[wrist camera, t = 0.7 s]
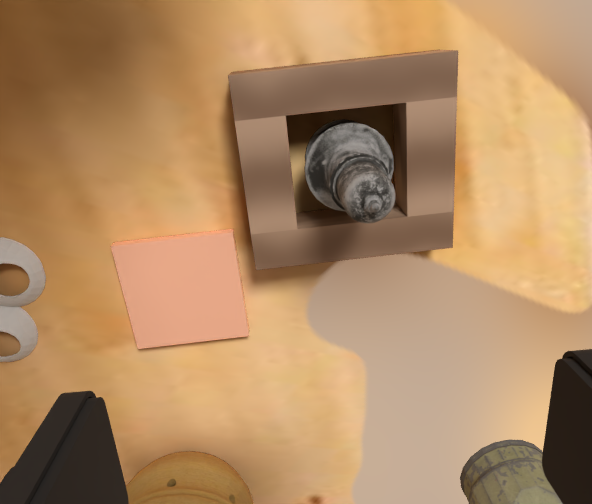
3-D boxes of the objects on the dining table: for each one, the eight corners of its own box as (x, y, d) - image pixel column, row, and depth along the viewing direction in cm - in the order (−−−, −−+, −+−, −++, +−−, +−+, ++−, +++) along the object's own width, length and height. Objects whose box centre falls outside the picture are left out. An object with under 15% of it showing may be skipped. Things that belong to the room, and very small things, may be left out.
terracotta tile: (113, 242, 37) (110, 246, 37) (233, 228, 38) (232, 232, 37) (140, 343, 41) (137, 348, 40) (249, 330, 41) (249, 336, 40)
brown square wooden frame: (231, 72, 33) (228, 75, 30) (439, 49, 33) (458, 50, 30) (256, 250, 38) (255, 270, 35) (436, 230, 39) (452, 247, 35)
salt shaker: (398, 157, 36) (458, 209, 25) (338, 211, 38) (369, 283, 27) (345, 96, 34) (384, 123, 23) (284, 156, 36) (293, 208, 25)
